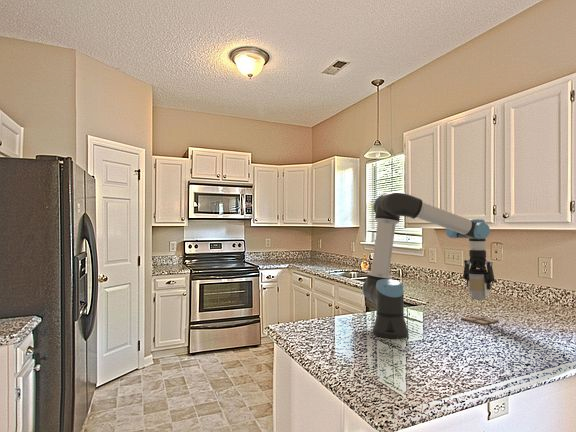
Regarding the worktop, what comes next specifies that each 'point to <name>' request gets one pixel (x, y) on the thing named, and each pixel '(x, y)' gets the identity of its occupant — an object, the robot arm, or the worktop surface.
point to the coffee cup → (477, 283)
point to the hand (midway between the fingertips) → (478, 294)
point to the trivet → (480, 320)
